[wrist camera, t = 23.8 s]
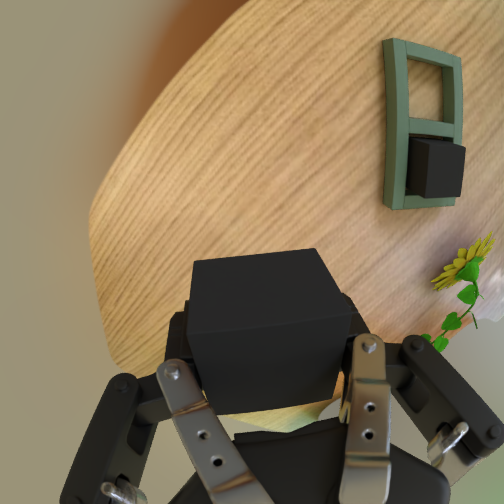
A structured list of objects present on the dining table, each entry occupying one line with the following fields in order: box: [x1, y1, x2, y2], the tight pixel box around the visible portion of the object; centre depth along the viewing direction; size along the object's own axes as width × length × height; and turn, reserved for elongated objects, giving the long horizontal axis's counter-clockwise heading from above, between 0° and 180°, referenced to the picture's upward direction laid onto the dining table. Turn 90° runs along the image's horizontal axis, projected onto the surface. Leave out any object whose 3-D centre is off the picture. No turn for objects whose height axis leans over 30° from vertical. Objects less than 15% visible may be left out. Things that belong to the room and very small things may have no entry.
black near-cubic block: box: [405, 136, 466, 199], centre depth 25 cm, size 5×5×4 cm
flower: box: [421, 231, 495, 353], centre depth 35 cm, size 12×9×30 cm
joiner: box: [382, 38, 463, 210], centre depth 24 cm, size 10×18×2 cm, turn 4°
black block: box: [186, 248, 352, 415], centre depth 12 cm, size 5×5×4 cm
